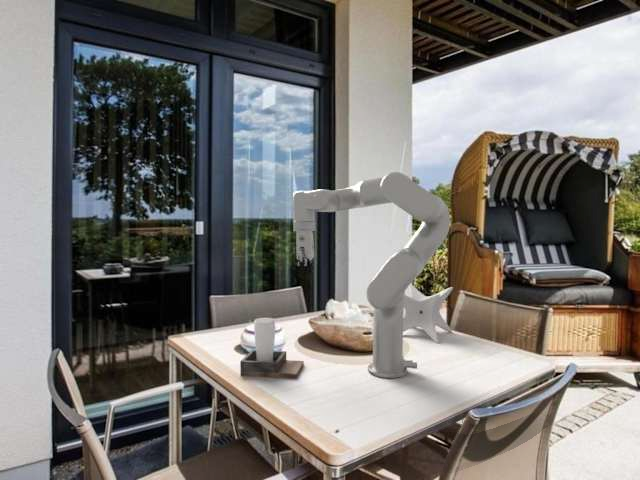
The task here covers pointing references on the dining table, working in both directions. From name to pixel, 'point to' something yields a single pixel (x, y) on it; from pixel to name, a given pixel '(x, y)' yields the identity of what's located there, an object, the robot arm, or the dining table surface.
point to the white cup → (264, 338)
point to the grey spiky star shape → (425, 312)
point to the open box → (270, 366)
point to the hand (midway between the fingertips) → (305, 276)
